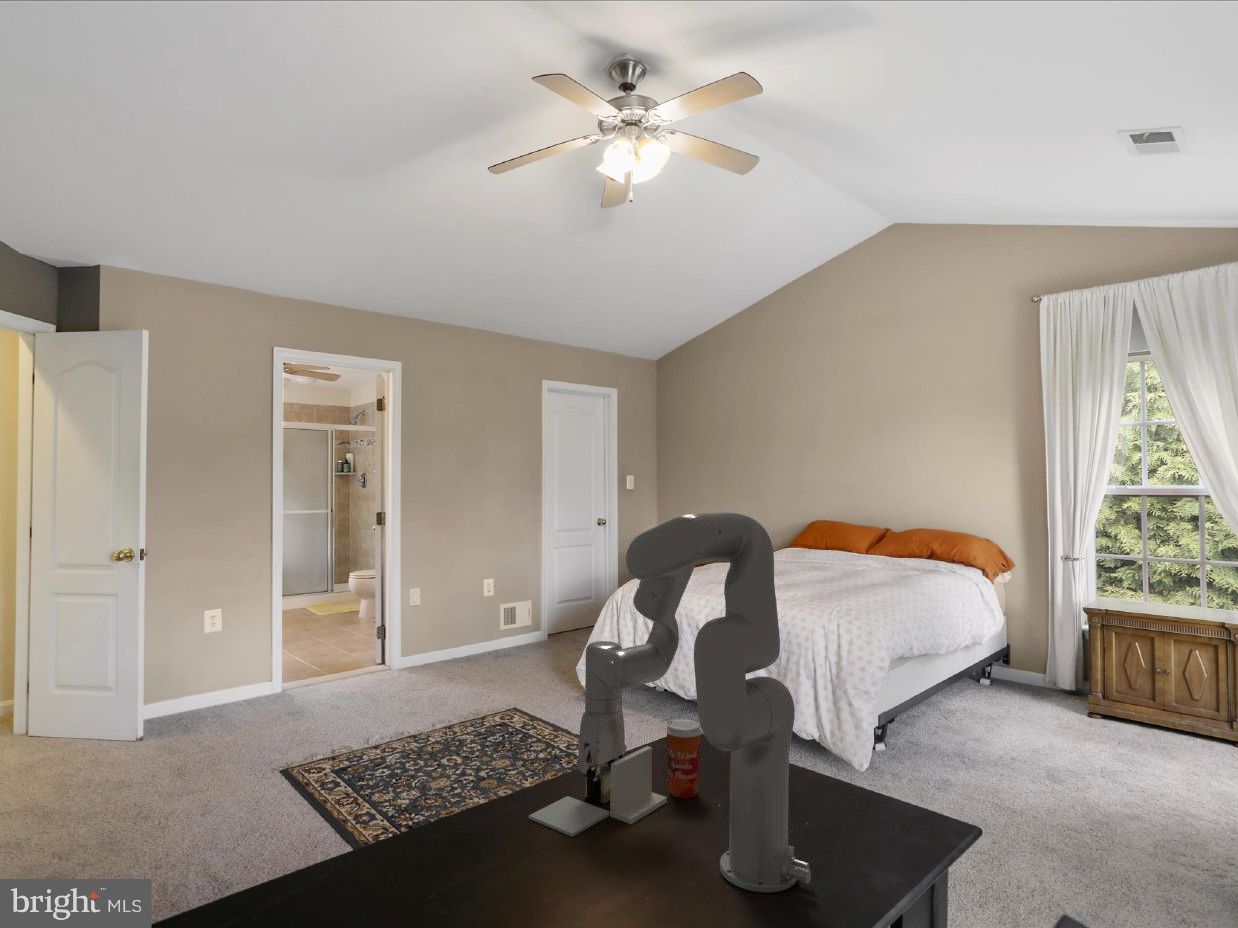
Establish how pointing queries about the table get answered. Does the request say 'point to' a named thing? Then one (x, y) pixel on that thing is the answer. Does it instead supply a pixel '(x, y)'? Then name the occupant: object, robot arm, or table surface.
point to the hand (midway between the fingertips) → (602, 792)
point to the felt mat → (569, 816)
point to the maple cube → (603, 783)
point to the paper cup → (683, 756)
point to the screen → (633, 787)
